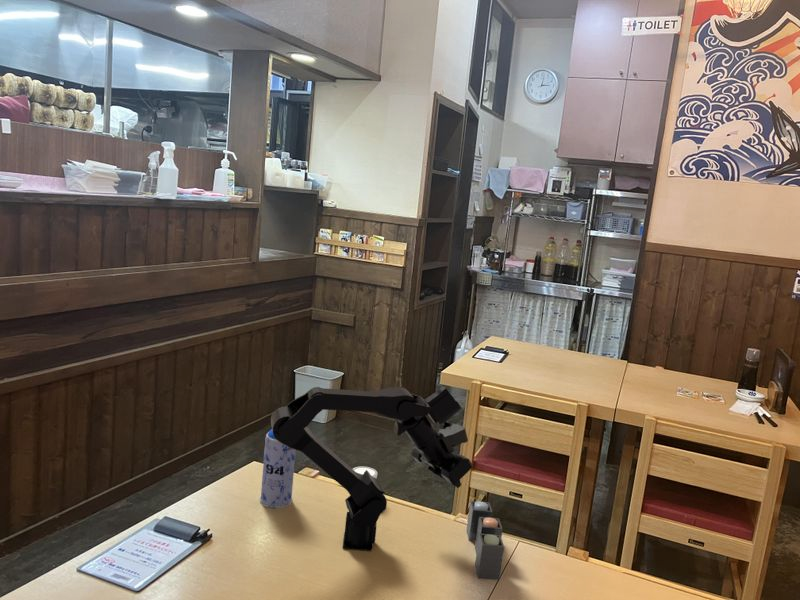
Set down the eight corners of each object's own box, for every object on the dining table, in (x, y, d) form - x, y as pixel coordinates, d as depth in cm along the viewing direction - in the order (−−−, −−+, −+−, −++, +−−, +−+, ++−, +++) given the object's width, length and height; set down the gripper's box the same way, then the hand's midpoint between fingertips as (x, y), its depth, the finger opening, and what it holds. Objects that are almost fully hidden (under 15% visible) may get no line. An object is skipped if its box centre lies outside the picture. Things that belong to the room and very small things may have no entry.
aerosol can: (255, 505, 154) (261, 426, 151) (266, 491, 162) (272, 415, 159) (286, 510, 153) (293, 431, 150) (296, 496, 161) (302, 420, 158)
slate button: (474, 517, 148) (475, 507, 148) (472, 510, 152) (473, 500, 151) (487, 518, 148) (489, 508, 148) (485, 511, 152) (487, 502, 151)
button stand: (477, 578, 134) (482, 544, 133) (466, 530, 153) (470, 500, 152) (504, 580, 134) (509, 547, 133) (489, 532, 153) (493, 502, 152)
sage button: (484, 552, 134) (485, 541, 133) (481, 544, 137) (483, 533, 136) (499, 553, 134) (500, 543, 133) (496, 545, 137) (497, 535, 136)
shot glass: (371, 505, 160) (374, 479, 159) (345, 500, 161) (347, 474, 160) (377, 494, 167) (380, 468, 166) (352, 489, 168) (355, 464, 167)
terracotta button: (483, 534, 141) (484, 524, 141) (481, 526, 144) (482, 516, 144) (497, 535, 141) (499, 525, 141) (495, 528, 144) (496, 518, 144)
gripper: (471, 421, 136) (506, 474, 141) (430, 404, 153) (463, 451, 158) (434, 457, 133) (470, 509, 137) (396, 435, 150) (430, 482, 154)
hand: (459, 486), depth 147 cm, fingers closed
